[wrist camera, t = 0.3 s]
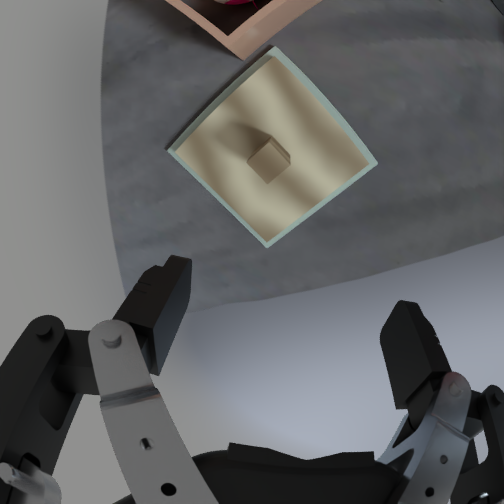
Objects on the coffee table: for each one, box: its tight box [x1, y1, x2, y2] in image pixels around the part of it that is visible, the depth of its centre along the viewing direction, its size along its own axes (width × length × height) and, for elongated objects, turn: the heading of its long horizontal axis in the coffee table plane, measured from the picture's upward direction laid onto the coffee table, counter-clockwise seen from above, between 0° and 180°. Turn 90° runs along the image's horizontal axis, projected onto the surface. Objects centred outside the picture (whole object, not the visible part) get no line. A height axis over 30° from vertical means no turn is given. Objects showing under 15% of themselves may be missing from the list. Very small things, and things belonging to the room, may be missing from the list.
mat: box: [167, 46, 378, 248], centre depth 32 cm, size 18×18×1 cm
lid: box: [175, 56, 369, 242], centre depth 29 cm, size 16×16×6 cm
